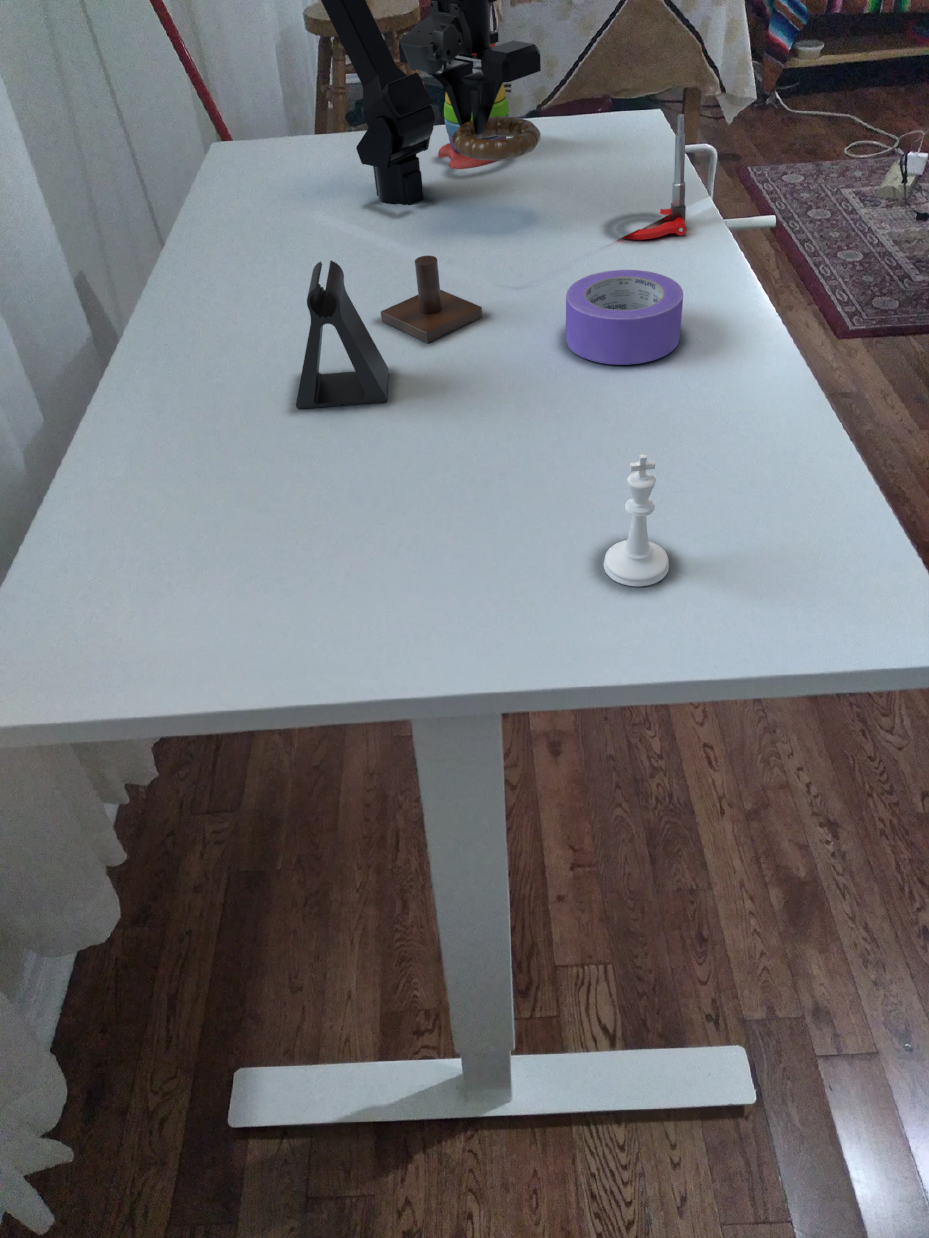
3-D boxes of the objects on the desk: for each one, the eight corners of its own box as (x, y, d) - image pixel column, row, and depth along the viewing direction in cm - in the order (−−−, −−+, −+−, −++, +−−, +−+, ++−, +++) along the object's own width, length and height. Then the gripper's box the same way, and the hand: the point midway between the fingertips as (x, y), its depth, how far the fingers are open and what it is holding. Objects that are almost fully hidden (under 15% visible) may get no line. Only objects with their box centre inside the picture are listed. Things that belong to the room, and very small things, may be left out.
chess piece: (598, 549, 76) (601, 440, 69) (660, 542, 76) (669, 433, 69) (610, 590, 72) (615, 480, 65) (675, 583, 72) (687, 472, 66)
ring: (436, 150, 118) (435, 131, 117) (496, 127, 123) (495, 108, 121) (496, 169, 112) (496, 149, 111) (557, 144, 117) (557, 125, 116)
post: (381, 321, 108) (373, 262, 103) (435, 296, 111) (430, 238, 107) (427, 343, 103) (421, 283, 98) (482, 317, 107) (479, 257, 102)
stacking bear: (435, 156, 147) (424, 21, 135) (499, 146, 148) (494, 12, 136) (452, 178, 139) (441, 38, 127) (519, 168, 141) (515, 28, 129)
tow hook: (611, 246, 119) (688, 239, 118) (609, 134, 110) (692, 125, 109) (607, 220, 125) (680, 213, 124) (605, 112, 117) (683, 104, 115)
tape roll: (581, 308, 106) (582, 264, 103) (688, 318, 103) (693, 272, 100) (552, 360, 98) (552, 313, 95) (667, 372, 95) (671, 324, 92)
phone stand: (389, 372, 99) (373, 257, 91) (387, 402, 95) (370, 284, 87) (302, 378, 99) (278, 264, 91) (296, 409, 95) (270, 292, 87)
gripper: (355, -10, 110) (374, 137, 121) (468, 6, 100) (478, 165, 110) (427, -29, 115) (439, 113, 126) (542, -15, 105) (545, 138, 115)
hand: (472, 132), depth 119 cm, fingers closed on ring, 2 cm apart
